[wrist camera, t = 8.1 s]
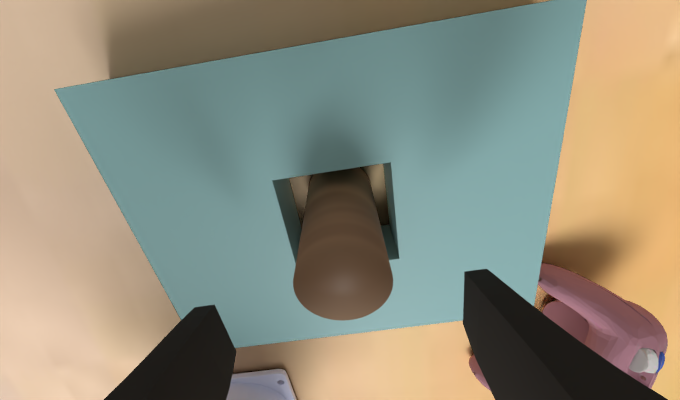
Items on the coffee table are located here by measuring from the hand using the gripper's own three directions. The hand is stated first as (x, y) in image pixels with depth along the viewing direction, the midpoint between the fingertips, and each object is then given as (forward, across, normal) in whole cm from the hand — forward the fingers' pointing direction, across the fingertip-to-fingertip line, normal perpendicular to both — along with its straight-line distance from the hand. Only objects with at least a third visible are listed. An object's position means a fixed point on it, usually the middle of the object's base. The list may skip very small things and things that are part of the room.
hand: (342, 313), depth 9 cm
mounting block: (+8, 0, 0) cm, 8 cm away
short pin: (+8, 0, 0) cm, 8 cm away
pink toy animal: (+8, -11, +11) cm, 18 cm away
